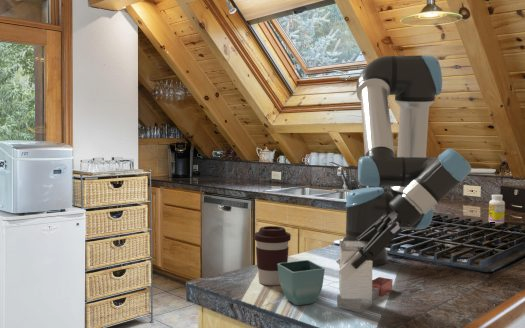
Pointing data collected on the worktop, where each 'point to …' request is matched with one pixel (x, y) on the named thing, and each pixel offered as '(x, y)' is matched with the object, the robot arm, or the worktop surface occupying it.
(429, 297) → the worktop surface
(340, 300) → the tiny brick pile
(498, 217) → the supplement bottle
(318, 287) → the flower pot
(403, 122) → the robot arm
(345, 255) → the tall white upright block
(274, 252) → the coffee cup
